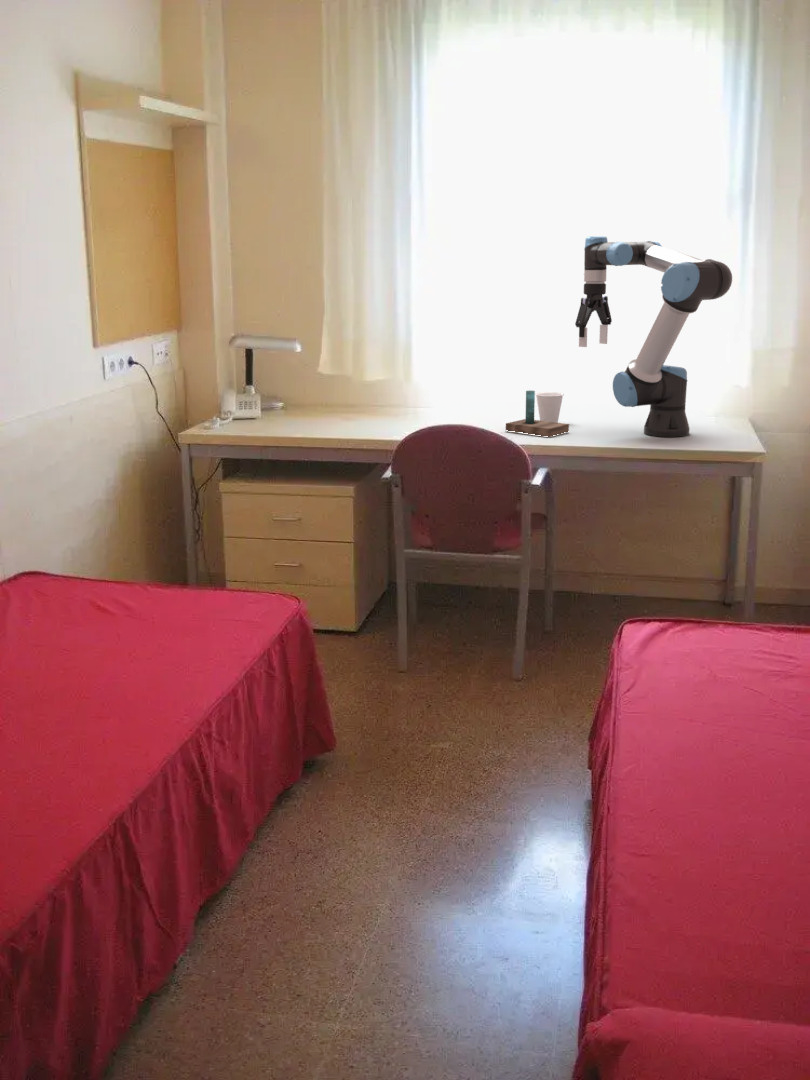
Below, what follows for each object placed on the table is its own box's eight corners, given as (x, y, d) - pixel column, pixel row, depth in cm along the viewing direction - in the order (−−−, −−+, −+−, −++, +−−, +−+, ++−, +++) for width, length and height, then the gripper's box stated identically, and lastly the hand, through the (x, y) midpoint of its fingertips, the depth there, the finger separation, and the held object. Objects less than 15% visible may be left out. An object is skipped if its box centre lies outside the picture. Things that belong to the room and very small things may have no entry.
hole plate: (568, 432, 396) (568, 424, 395) (548, 437, 387) (549, 428, 386) (525, 427, 407) (526, 418, 406) (505, 431, 399) (505, 423, 398)
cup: (543, 427, 406) (544, 396, 403) (530, 423, 415) (530, 393, 412) (567, 425, 410) (568, 394, 407) (554, 421, 419) (555, 391, 416)
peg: (535, 431, 399) (536, 391, 396) (530, 432, 397) (531, 391, 393) (528, 430, 401) (529, 390, 397) (523, 431, 399) (524, 391, 395)
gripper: (604, 281, 406) (602, 341, 412) (566, 284, 388) (564, 347, 393) (622, 281, 401) (620, 342, 407) (585, 284, 383) (583, 348, 389)
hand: (593, 345), depth 400 cm, fingers open, 13 cm apart
